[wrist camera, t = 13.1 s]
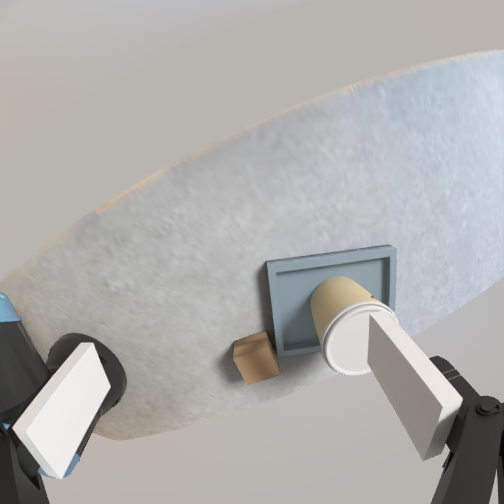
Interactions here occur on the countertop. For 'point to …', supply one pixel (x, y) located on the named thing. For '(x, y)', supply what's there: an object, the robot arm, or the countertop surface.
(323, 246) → the countertop surface
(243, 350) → the walnut block
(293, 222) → the countertop surface
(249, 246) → the countertop surface
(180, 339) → the countertop surface
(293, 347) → the collection tray
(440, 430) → the robot arm
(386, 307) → the coffee cup
